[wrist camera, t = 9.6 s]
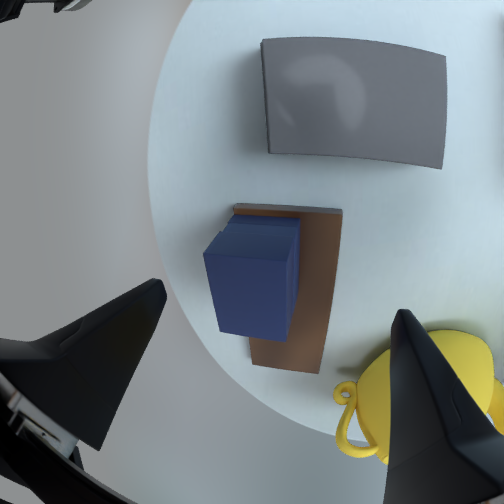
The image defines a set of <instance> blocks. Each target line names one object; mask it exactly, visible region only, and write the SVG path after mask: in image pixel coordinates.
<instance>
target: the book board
mask: <svg viewBox="0 0 504 504" xmlns="http://www.w3.org/2000/svg"><path fill="white" fill-rule="evenodd" d="M233 210H234V215H254V216H272V217H288V218H300V258H299V286H298V296H297V301H296V304H295V308H294V313H293V314H292V319H291V324H290V328H289V332H288V336H287V341H286V342H279V341H272V340H265V339H259V338H253V337H249V343H250V350H251V358H252V364H253V365H259V366H265V367H271V368H277V369H284V370H291V371H298V372H306V373H315V374H318V373H319V368H320V364H321V359H322V354H323V349H324V344H325V339H326V334H327V329H328V323H329V317H330V312H331V306H332V299H333V293H334V286H335V279H336V272H337V264H338V256H339V247H340V238H341V228H342V217H343V213H342V209H331V208H318V207H303V206H286V205H267V204H242V203H237V204H236V206H235V207H234V208H233Z"/></svg>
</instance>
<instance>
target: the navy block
mask: <svg viewBox="0 0 504 504" xmlns="http://www.w3.org/2000/svg"><path fill="white" fill-rule="evenodd" d="M203 256H204V261H205V266H206V271H207V276H208V281H209V285H210V290H211V294H212V299H213V304H214V308H215V312H216V317H217V321H218V325H219V330H220V332H224V333H230V334H235V335H241V336H247V337H253V338H259V339H265V340H272V341H279V342H286V341H287V336H288V332H289V328H290V324H291V319H292V314H293V284H294V237H292V236H279V235H266V234H252V233H237V232H222V231H220V232H219V233H218V234H217V236H216V237H215V238H214V240H213V241H212V242H211V244H210V245H209V246H208V248H207V249H206V250H205V252H204V253H203Z"/></svg>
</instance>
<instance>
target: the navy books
mask: <svg viewBox="0 0 504 504" xmlns="http://www.w3.org/2000/svg"><path fill="white" fill-rule="evenodd" d="M223 232H237V233H252V234H266V235H279V236H292V237H294V284H293V313H294V308H295V304H296V301H297V296H298V286H299V258H300V218H288V217H272V216H254V215H233V216H232V218H231V219H230V220H229V222H228V225H227V226H226V227H225V229H224V230H223Z"/></svg>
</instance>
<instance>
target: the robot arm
mask: <svg viewBox="0 0 504 504" xmlns="http://www.w3.org/2000/svg"><path fill="white" fill-rule="evenodd" d="M73 1H74V0H0V23H2V22H5V21H8V20H12V19H15V18H18V17H19V15H20V11H21V9H22V7H23V5H24V3H42V2H50V3H51V2H53V3H54V13H58V12H59V11H61V10H62V9H63V8H65V7H66V6H67V5H69V4H70V3H71V2H73ZM166 300H167V293H166V290H165V287H164V284H163V282H162V280H160V279H155V278H152V279H150V280H148V281H146V282H144V283H143V284H141V285H139V286H137V287H135V288H133V289H132V290H130V291H128V292H126V293H124V294H122V295H121V296H119V297H117V298H115V299H113V300H112V301H110V302H108V303H106V304H104V305H103V306H101V307H99V308H97V309H95V310H94V311H92V312H90V313H88V314H87V315H85V316H84V317H81V318H79V319H78V320H76V321H74V322H72V323H71V324H69V325H67V326H65V327H63V328H61V329H59V330H57V331H54V332H52V333H50V334H48V335H46V336H44V337H42V338H40V339H38V340H35V341H31V342H23V341H16V340H9V339H3V338H0V475H2V476H4V477H5V478H7V479H10V480H12V481H13V482H16V483H18V484H20V485H22V486H25V487H27V488H29V489H30V490H31V491H33V493H35V494H36V496H38V497H39V499H41V500H42V501H43V502H44V503H45V504H137V503H135V502H133V501H132V500H130V499H128V498H126V497H124V496H123V495H121V494H119V493H117V492H116V491H114V490H112V489H111V488H109V487H107V486H106V485H104V484H102V483H101V482H99V481H98V480H96V479H95V478H93V477H92V476H90V475H89V474H88V473H86V472H85V471H84V468H83V465H82V461H81V457H80V453H79V449H78V447H77V446H76V444H77V442H78V441H79V439H80V440H81V441H83V442H84V443H86V444H87V445H89V446H91V447H92V448H94V449H95V450H97V451H100V449H101V447H102V444H103V442H104V440H105V437H106V435H107V432H108V430H109V427H110V425H111V423H112V420H113V418H114V416H115V414H116V411H117V409H118V407H119V405H120V402H121V400H122V398H123V396H124V393H125V391H126V389H127V387H128V385H129V382H130V380H131V378H132V376H133V374H134V372H135V370H136V368H137V366H138V364H139V362H140V360H141V358H142V355H143V353H144V351H145V349H146V347H147V345H148V343H149V341H150V339H151V337H152V335H153V333H154V331H155V329H156V326H157V323H158V321H159V318H160V316H161V313H162V311H163V308H164V305H165V303H166ZM0 504H12V503H10V502H7V501H5V500H2V499H0ZM383 504H504V435H502V434H501V433H500V432H498V431H497V430H496V429H495V427H494V426H493V425H492V423H491V422H490V421H489V419H488V418H487V417H486V415H485V414H484V413H483V411H482V410H481V409H480V407H479V406H478V405H477V403H476V402H475V400H474V399H473V398H472V396H471V395H470V394H469V392H468V391H467V389H466V388H465V386H464V385H463V383H462V382H461V380H460V379H459V378H458V376H457V374H456V373H455V371H454V370H453V368H452V367H451V365H450V364H449V362H448V361H447V359H446V358H445V357H444V355H443V354H442V352H441V351H440V350H439V348H438V347H437V345H436V344H435V343H434V341H433V340H432V339H431V337H430V336H429V334H428V333H427V332H426V330H425V329H424V328H423V327H422V325H421V324H420V323H419V321H418V320H417V319H416V317H415V316H414V315H413V314H412V312H411V311H410V310H408V309H399V310H398V311H397V313H396V316H395V318H394V321H393V323H392V326H391V345H390V444H389V459H388V472H387V479H386V487H385V494H384V501H383Z"/></svg>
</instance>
